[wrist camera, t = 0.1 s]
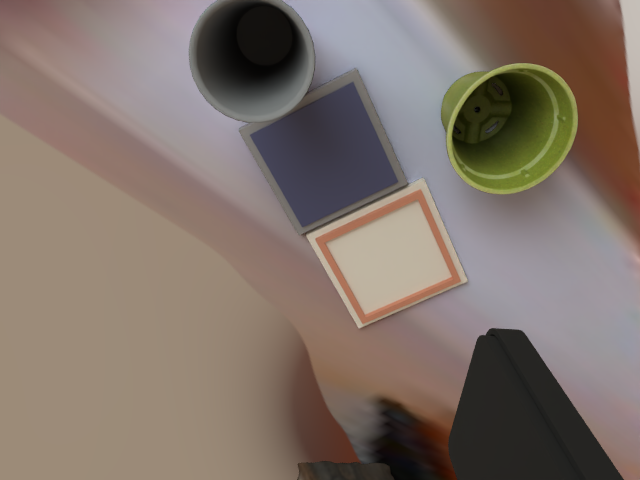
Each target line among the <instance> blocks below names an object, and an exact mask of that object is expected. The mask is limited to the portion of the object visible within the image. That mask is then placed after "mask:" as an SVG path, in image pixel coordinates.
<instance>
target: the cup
mask: <svg viewBox="0 0 640 480" xmlns="http://www.w3.org/2000/svg"><path fill="white" fill-rule="evenodd" d="M189 62H190V68H191V72H192V76H193V79H194V81H195V83H196V85H197V87H198V89H199V91H200V92H201V94H202V95H203V96H204V98H205V99H206V100H207V101H208V102H209V103H210V104H211V105H212V106H213V107H214V108H215V109H216V110H218V111H219V112H221V113H223V114H224V115H226V116H228V117H230V118H233V119H235V120H238V121H243V122H248V123H262V122H267V121H272V120H275V119H277V118H280V117H282V116H284V115H285V114H287V113H288V112H290V111H292V110H293V109H294V108H295V107H296V106H297V105H298V104H299V103H300V102H301V101H302V99H303V98H304V96H305V95H306V93H307V92H308V89H309V87H310V85H311V82H312V79H313V75H314V70H315V51H314V46H313V41H312V38H311V36H310V33H309V30H308V28H307V27H306V25H305V23H304V22H303V20H302V18H301V17H300V16H299V15H298V14H297V13H296V12H295V11H294V9H293V8H291V7H290V6H289V5H287V4H286V3H285V2H283V1H282V0H217V1H216V2H214V3H213V4H211V5H210V6H209V7H208V8H207V9H206V10H205V11H204V13H203V14H202V15H201V16H200V18H199V19H198V21H197V23H196V25H195V27H194V29H193V32H192V36H191V39H190V46H189Z"/></svg>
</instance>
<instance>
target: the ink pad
mask: <svg viewBox="0 0 640 480" xmlns="http://www.w3.org/2000/svg"><path fill="white" fill-rule="evenodd" d="M239 132H240V134H241V136H242V138H243V139H244V141H245V143H246V145H247V146H248V148H249V150H250V152H251V153H252V155H253V157H254V158H255V160H256V162H257V164H258V165H259V167H260V169H261V171H262V172H263V174H264V176H265V178H266V179H267V181H268V183H269V185H270V186H271V188H272V190H273V191H274V193H275V195H276V197H277V198H278V200H279V202H280V204H281V205H282V207H283V209H284V211H285V212H286V214H287V216H288V217H289V219H290V221H291V223H292V224H293V226H294V228H295V230H296V231H297V233H298V235H301V234H303V233H305V232H307V231H309V230H312V229H314V228H316V227H318V226H320V225H322V224H324V223H326V222H328V221H331V220H333V219H335V218H337V217H339V216H341V215H343V214H345V213H347V212H350V211H352V210H354V209H356V208H358V207H360V206H362V205H364V204H367V203H369V202H371V201H373V200H375V199H377V198H379V197H381V196H383V195H386V194H388V193H390V192H392V191H394V190H396V189H398V188H400V187H402V186H405V185H407V184H408V183H407V180H406V178H405V176H404V174H403V171H402V169H401V167H400V165H399V162H398V160H397V158H396V156H395V153H394V151H393V149H392V147H391V144H390V142H389V140H388V138H387V136H386V133H385V131H384V129H383V127H382V124H381V122H380V120H379V118H378V115H377V113H376V111H375V109H374V106H373V104H372V102H371V100H370V97H369V95H368V93H367V91H366V88H365V86H364V84H363V82H362V79H361V77H360V75H359V73H358V70H357V69H356V68H355V69H353V70H351V71H349V72H347V73H345V74H343V75H341V76H339V77H337V78H335V79H333V80H331V81H329V82H328V83H326V84H324V85H322V86H320V87H318V88H316V89H314V90H312V91H310V92H308V93H306V95H305V96H304V98H303V99H302V101H301V102H300V103H299V104H298V105H297V106H296V107H295V108H294V109H293V110H292V111H290V112H288V113H287V114H285V115H284V116H282V117H280V118H277V119H275V120H272V121H267V122H262V123H249V124H247V125H245V126H243V127H241V128H240V129H239Z"/></svg>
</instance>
